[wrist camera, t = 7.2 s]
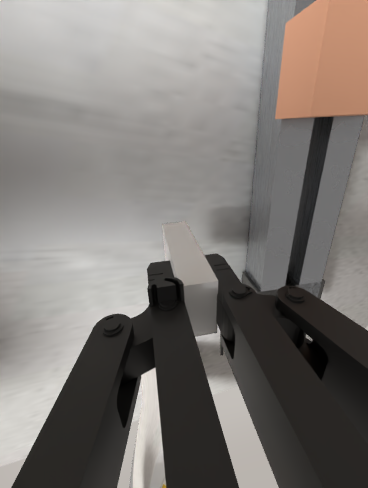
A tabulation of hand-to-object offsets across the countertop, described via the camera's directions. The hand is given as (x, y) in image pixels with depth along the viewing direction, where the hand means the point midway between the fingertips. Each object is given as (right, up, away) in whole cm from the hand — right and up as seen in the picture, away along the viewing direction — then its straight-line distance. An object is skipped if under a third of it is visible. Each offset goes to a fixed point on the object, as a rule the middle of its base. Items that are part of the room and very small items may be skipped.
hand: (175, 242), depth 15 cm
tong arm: (+7, +5, +3) cm, 9 cm away
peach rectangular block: (+9, +9, -3) cm, 13 cm away
